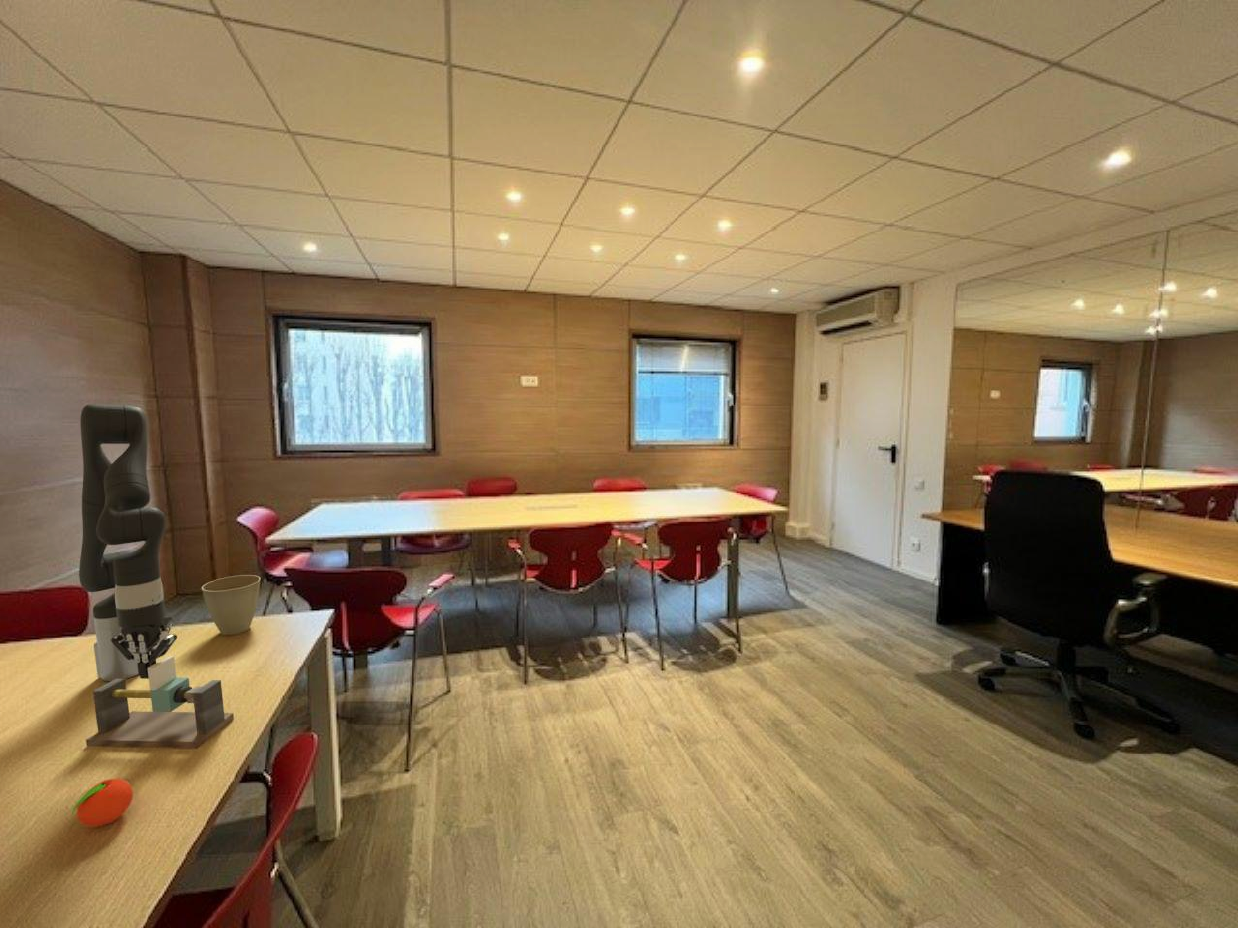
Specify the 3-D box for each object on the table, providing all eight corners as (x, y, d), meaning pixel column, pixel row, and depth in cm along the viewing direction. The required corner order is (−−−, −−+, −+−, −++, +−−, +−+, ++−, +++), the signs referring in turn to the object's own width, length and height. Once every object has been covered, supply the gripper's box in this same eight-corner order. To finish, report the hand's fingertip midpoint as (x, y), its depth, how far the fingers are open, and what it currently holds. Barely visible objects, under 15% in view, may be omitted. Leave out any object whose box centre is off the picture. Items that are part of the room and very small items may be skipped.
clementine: (88, 846, 83) (83, 807, 83) (60, 836, 85) (54, 798, 84) (145, 809, 91) (140, 772, 90) (118, 800, 93) (113, 765, 92)
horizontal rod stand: (86, 746, 108) (80, 697, 106) (132, 717, 118) (127, 672, 116) (197, 748, 107) (191, 699, 106) (233, 718, 117) (229, 674, 116)
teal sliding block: (152, 711, 109) (147, 667, 108) (173, 698, 114) (168, 656, 113) (170, 711, 109) (165, 668, 108) (190, 698, 114) (186, 656, 113)
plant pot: (227, 644, 153) (222, 593, 151) (195, 636, 158) (190, 587, 156) (275, 624, 167) (271, 577, 165) (244, 617, 172) (240, 572, 170)
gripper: (91, 607, 105) (101, 685, 107) (154, 608, 105) (162, 687, 107) (127, 593, 112) (135, 667, 115) (185, 594, 112) (192, 668, 114)
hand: (148, 676), depth 111 cm, fingers closed
